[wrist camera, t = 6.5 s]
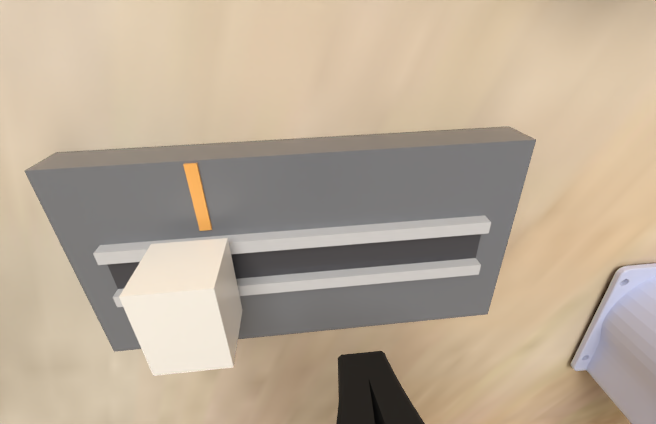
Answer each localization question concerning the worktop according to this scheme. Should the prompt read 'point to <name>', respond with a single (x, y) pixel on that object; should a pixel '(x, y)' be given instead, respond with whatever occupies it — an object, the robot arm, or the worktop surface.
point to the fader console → (300, 222)
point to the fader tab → (185, 306)
